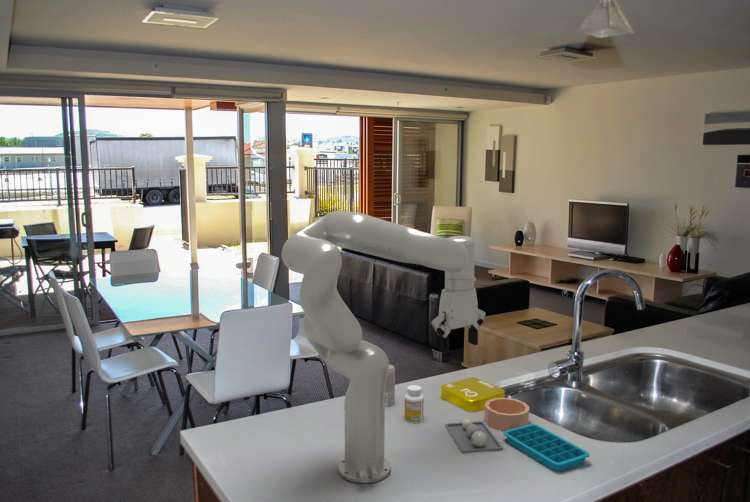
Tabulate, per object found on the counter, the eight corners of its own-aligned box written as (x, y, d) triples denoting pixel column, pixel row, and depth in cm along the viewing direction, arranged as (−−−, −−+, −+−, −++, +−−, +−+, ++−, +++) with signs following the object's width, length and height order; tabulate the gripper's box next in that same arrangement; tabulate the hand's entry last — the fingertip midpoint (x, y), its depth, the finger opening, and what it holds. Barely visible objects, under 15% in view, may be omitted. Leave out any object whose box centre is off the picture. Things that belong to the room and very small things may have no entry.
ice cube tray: (533, 433, 169) (534, 423, 169) (591, 465, 152) (592, 454, 151) (500, 442, 164) (501, 432, 163) (556, 477, 146) (557, 465, 146)
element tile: (507, 404, 189) (507, 389, 188) (470, 415, 180) (471, 400, 180) (473, 388, 201) (473, 374, 200) (437, 398, 193) (438, 384, 192)
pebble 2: (481, 440, 163) (481, 427, 163) (468, 440, 163) (468, 428, 162) (477, 433, 167) (477, 421, 166) (464, 434, 166) (464, 422, 166)
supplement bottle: (411, 414, 180) (412, 382, 179) (426, 419, 177) (427, 387, 175) (400, 420, 176) (401, 387, 175) (416, 425, 173) (416, 392, 171)
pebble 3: (488, 449, 158) (489, 434, 158) (473, 450, 158) (474, 435, 157) (483, 442, 162) (484, 427, 162) (469, 443, 162) (469, 428, 161)
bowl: (535, 430, 170) (535, 413, 169) (493, 433, 168) (494, 416, 167) (518, 412, 181) (519, 396, 181) (479, 415, 180) (479, 399, 179)
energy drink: (385, 399, 191) (386, 362, 189) (398, 404, 187) (398, 366, 185) (373, 404, 187) (373, 366, 185) (386, 409, 184) (386, 370, 182)
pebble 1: (474, 431, 168) (474, 420, 168) (463, 431, 168) (463, 421, 168) (470, 426, 171) (471, 416, 171) (460, 427, 171) (460, 417, 170)
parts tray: (503, 451, 158) (503, 447, 158) (461, 454, 156) (461, 450, 156) (482, 424, 174) (482, 421, 173) (444, 427, 172) (444, 423, 172)
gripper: (475, 277, 167) (474, 337, 170) (423, 285, 158) (423, 349, 161) (494, 282, 161) (493, 345, 164) (442, 291, 152) (441, 357, 155)
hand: (458, 347), depth 163 cm, fingers open, 9 cm apart
